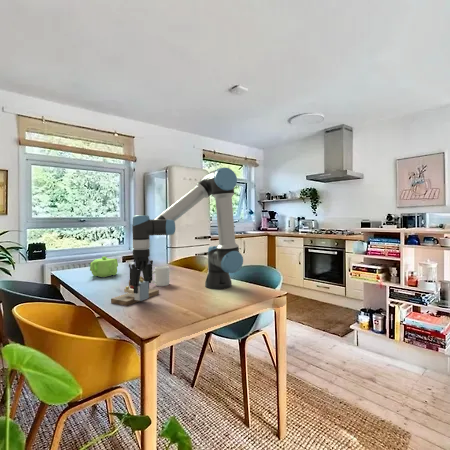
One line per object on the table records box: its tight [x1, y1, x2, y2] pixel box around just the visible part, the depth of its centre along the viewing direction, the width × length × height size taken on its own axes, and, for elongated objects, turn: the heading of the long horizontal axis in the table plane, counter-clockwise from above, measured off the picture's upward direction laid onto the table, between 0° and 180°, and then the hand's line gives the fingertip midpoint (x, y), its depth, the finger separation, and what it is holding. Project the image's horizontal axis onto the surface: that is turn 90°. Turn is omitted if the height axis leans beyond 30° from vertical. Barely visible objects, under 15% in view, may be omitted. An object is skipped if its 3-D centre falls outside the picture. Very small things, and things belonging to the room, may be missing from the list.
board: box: [110, 288, 160, 307], centre depth 143 cm, size 10×22×2 cm, turn 153°
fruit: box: [128, 275, 144, 289], centre depth 158 cm, size 8×8×8 cm
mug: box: [151, 265, 171, 287], centre depth 169 cm, size 12×8×10 cm
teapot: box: [89, 256, 119, 278], centre depth 195 cm, size 18×20×13 cm
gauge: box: [123, 278, 150, 302], centre depth 137 cm, size 12×5×9 cm, turn 63°
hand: (141, 298), depth 136 cm, fingers closed on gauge, 5 cm apart
